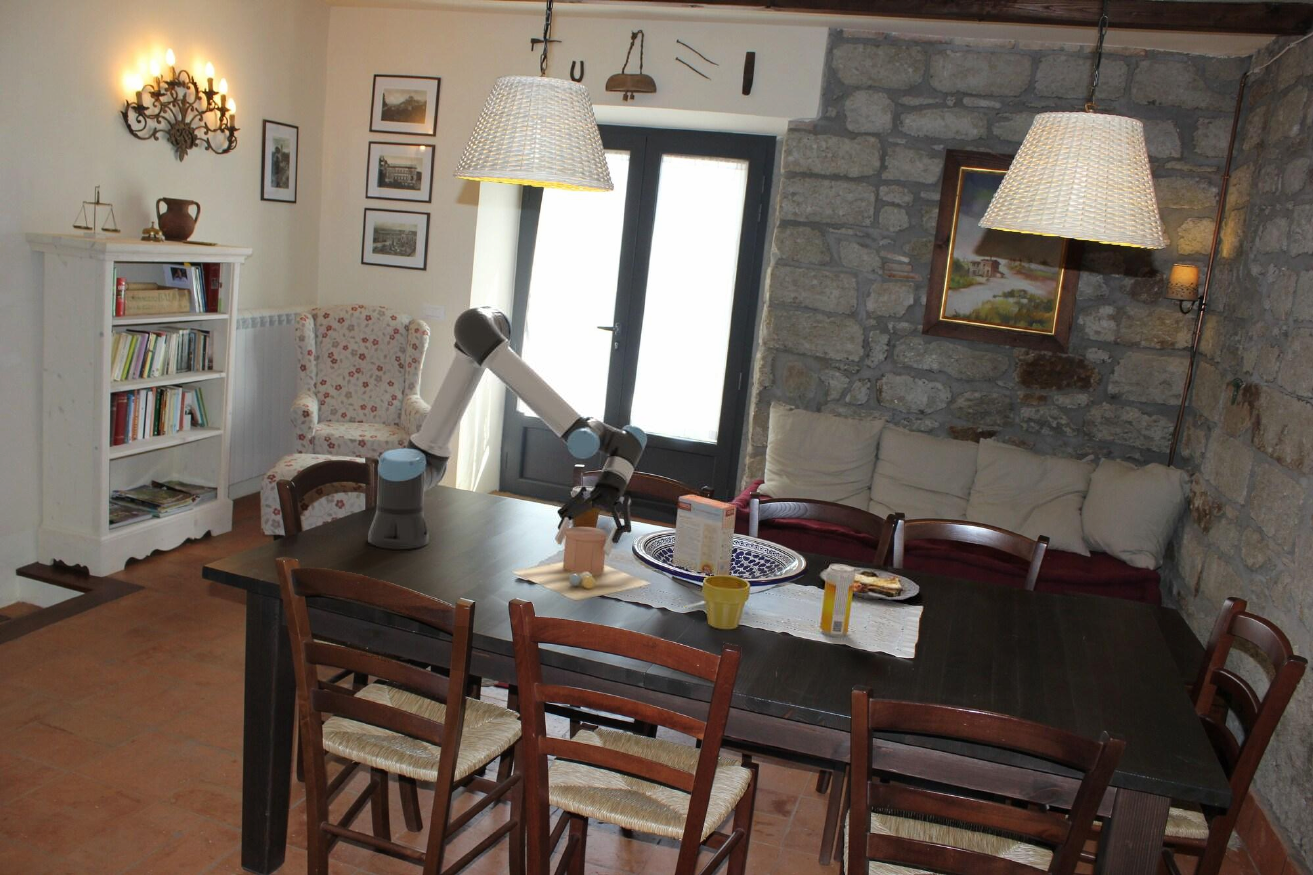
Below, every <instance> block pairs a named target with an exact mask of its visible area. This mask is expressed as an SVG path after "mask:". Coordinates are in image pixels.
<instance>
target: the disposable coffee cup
mask: <svg viewBox="0 0 1313 875" xmlns="http://www.w3.org/2000/svg"><path fill="white" fill-rule="evenodd" d="M582 487H586V489H587V490H591V491H592V490H593V489H594V488H595V486H588V485H580V486H575V487H573V488H572V491H570V494H571V499H572V498H573V497H574V496H575V495H577V494H578V493H579V491H580V490H581V488H582ZM589 497H590V496H588V498H589ZM586 499H587V498H585V500H586ZM585 500H584V501H585ZM584 501H583V502H584ZM590 504H592V501H591V502H590ZM600 510H601V509H596V508H594V509H592V510H588V511H586V512H584V513H583V514H581V515H579V516H577V517H576V518H574V519H572V522H573V523H572V524H573V526H572V527H592V528H597V526H598V525H597V524H598V521H599V516H600Z"/></svg>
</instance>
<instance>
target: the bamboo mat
mask: <svg viewBox="0 0 1313 875" xmlns="http://www.w3.org/2000/svg"><path fill="white" fill-rule="evenodd" d="M563 563H564V561H562V562H556V563H550V564H545V565H539V566H535V567H529V568H522V569H519V570H514V571H511V573H513V574H515V575H517V576H519V577H522V578H523V579H526V580H528V581H531V582H533V583H535V584H537V585H540V586H542V587H544V588H547V589H549V590H550V591H554V592H555V593H558V594H559V595H561V596H564V597H567V598H569V599H570V600H574V601H575V602H578V601H583V600H587V599H592V598H595V597H600V596H605V595H609V594H613V593H619V592H623V591H626V590H630V589H635V588H639V587H644V586H648V585H652V583H651V582H649V581H646V580H643V579H641V578H638V577H636V576H633V575H631V574H628V573H625V572H624V571H621V570H619V569H616V568H614V567H611V566H608V565H605V564H604V570H603V572H598V573H593V574H591V575H592V577H593V578H594V580H595V585H594V587H593V588H591V589H586V588H585V587H584V586H583V584H582V583H581V584H580V585H579V586H576V587H574V586H572V585H571V584H570V583H569V577H570V576H571V575H572V574H579V575H581V573H574V572H571V571H569V570H567V569H564V568H563Z"/></svg>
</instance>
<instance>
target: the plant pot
mask: <svg viewBox="0 0 1313 875" xmlns="http://www.w3.org/2000/svg"><path fill="white" fill-rule="evenodd" d="M750 591H751V583H750V582H749V581H748V580H746V579H744V578H741V577H737V576H733V575H729V576H727V575H714V576H708V577H706V578H704V580H703V587H702V592H701V594H702V597H703V598H704V601H705V608H706V617H707V624H708V625H709V626H711V627H712V628H715V629H719V630H733V629H734V630H735V629H736V628H738V627H739V624H740V620H741V617H742V614H743V611H744V607H745V604H746V602H748V600H749V598H750Z"/></svg>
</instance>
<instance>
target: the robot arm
mask: <svg viewBox="0 0 1313 875" xmlns="http://www.w3.org/2000/svg"><path fill="white" fill-rule="evenodd" d="M453 334H454V335H453V336H454V339H455V343H454V344H453V350H454V352H455V356H454V358H453V360H452V362H451V364H450V367H449V368H448V370H447V373H446V375H445V377H444V379H443V381H442V383H441V385H440V388H439V390H438V392H437V394H436V396H435V398H434V400H433V402H432V404H431V406H430V409H429V410H428V412H427V415H426V417H425V418H424V421H423V423H422V425H421V428H420V429H419V431H418V432H417V433H414V434H412V435H410V437H409V439H408V441H407V444H406V445H405V447H404V448H395V449H390V450H387V451H385V452H382V454H381V455H380V456H379V458H378V459H379V460H378V465H377V472H378V473H377V492H376V493H377V494H376V510H375V511H376V512H375V514H374V517H373V521H372V523H371V525H370V528H369V530H368V536H367V537H368V538H367V542H368V543H369V544H370V543H371V544H370V545H371V546H374V545H375V546H374V547H377V548H383V549H387V550H388V549H390V550H410V549H417V548H421V547H425V546H426V545H428V543H429V537H430V536H429V531H428V530H429V529H428V526H427V523H426V520H425V519H426V518H425V516H424V503H425V502H424V501H425V500H424V498H425V497H424V496H425V492H427V491H428V490H430V489H432V488H434V487H436V486H437V485H438V484H439V483H440V482H441V481H442V480H443V478H444V477H445V475H446V472H447V466H448V461H449V459H450V457H451V454H452V452H451V449H450V447H449V446H450V443H451V442H452V440H453V438H454V435H455V433H456V431H457V430H458V427H459V426H460V424H461V421H462V420H463V417H464V414H465V413H466V410H467V409H468V406H469V405H470V403H471V400H472V398H473V396H474V394H475V392H476V389H477V388H478V386H479V383H480V382H481V379H482V377H483V375H484V373H485V371H486V369H488V370H489V371H491V373H492V374H493V375H494V376H496V378H497V379H499V380H500V381H501V383H503V385H505V387H507V388H508V389H509V390H510V391H511V392H512V393H513V395H515V396H516V397H517V398H518V399H519V400H521V402H522V403H524V404H525V406H526V407H528V408H529V409H530V410H531V412H533V413H534V414H535V415H536V416H537V417H538V418H539V419H540V420H542V422H543V423H545V425H547V427H548V428H549V429H550V430H551V431H552V432H554V434H556V435H557V436H558V437H559V438H560V439H561V440H562V441H563V442H564V443H565V444H566V445H567V449H568V452H569V453H570V454H571V455H572V456H573V457H574V458H577V459H580V460H583V459H589V458H591V457H592V456H594V455H596V454H597V452H598V453H600V454H603V455H605V456H608V457H607V459H606V461H605V463H604V465H603V468H602V470H601V473H600V474H599V475H598V478H597V480H596V482H595V484H594V487H595V488H594V489H593V490H592V491H591V490H587V489H586V487H582V488H581V490H580V491H579V493H578V494H577V495H575V496H574V497H573V498H572V497H571V499H569V500H568V501H567V502H565V504H564V505H563V506H561V507H560V508H559V509H557V515H558V516H559V518H560V519H561V520H560V521H559V523H558V525H557V529H558V531H557V533H556V535H555V536H554V540H555V541H556V543H557V545H562V543H563V542H564V540H565V537H566V536H565V533H566V530H567V529H569V528H571V525H572V522H571V521H573V519H574V518H576V517H577V516H579V515H581V514H583V513H584V512H586V511H588V510H592V509H594V508H596V509H600V510H602V511H605V512H607V511H610V513H611V516H612V519H613V521H614V523H615V526H616V527H614V526H613V527H612V530H611V531H610V534H609V536H608V537H607V539H606V544H605V546H604V548H603V550H604V552H605V556H607V557H608V556H610V554H611V552H612V549H613V547H614V545H615V544H618V543H619V541H620V540H621V538H622V535H623V534H624V533H629V534H630V533H631V532H632V521H631V510H630V509H631V505H632V500H631V498H630V495H629V494H625V496H623V495H624V493H625V490H626V488H627V487H628V484H629V483H630V482H629V481H630V479H631V478H632V475H633V474H634V471H635V469H636V467H637V465H638V463H639V461H640V459H641V457H642V454H643V453H644V449H645V447H646V445H647V442H648V437H647V436H648V435H647V434H646V432H645V431H644V430H643V429H642V428H640V427H638V426H636V425H631V424H627V425H624V426H623V427H622V428H621V429H619V428H616V427H614V426H612V425H609V424H607V423H605V422H603V421H600V420H598V419H597V418H594V417H592V416H589V415H586V414H583V413H578V412H577V410H575V409H574V408H573V407H572V406H571V405H570V404H569V403H568V402H567V401H566V400H565V399H564V398H563V397H562V396H561V395H560V394H559V393H557V391H556V390H555V389H553V388H552V387H551V386H550V385H549V384H548V382H546V381H545V380H544V379H543V378H542V377H541V376H540V374H538V373H537V372H536V371H535V370H534V368H532V367H531V366H530V365H529V364H527V363H526V361H525V360H524V359H523V358H522V357H520V356H519V355H518V353H516V352H515V351H514V350H513V349H512V348H511V347H510V341H511V339H512V335H513V326H512V323H511V320H510V318H509V317H508V315H507V314H506V313H505V312H503V310H501V309H499V308H496V307H493V306H487V305H486V306H481V307H473V308H469V309H467V310H465V311H463V312H462V313H460V315H458V317H457V318H456V321H455V323H454V328H453ZM588 496H590V497H589V498H588ZM585 498H587V499H586V500H585ZM584 500H585V501H584ZM583 501H584V502H583ZM591 501H592V504H590V502H591ZM620 503H621V506H622V514H623V524H622V522H621V519H620V517H619V514H618V511H617V510H616V506H618V505H619V504H620Z"/></svg>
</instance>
